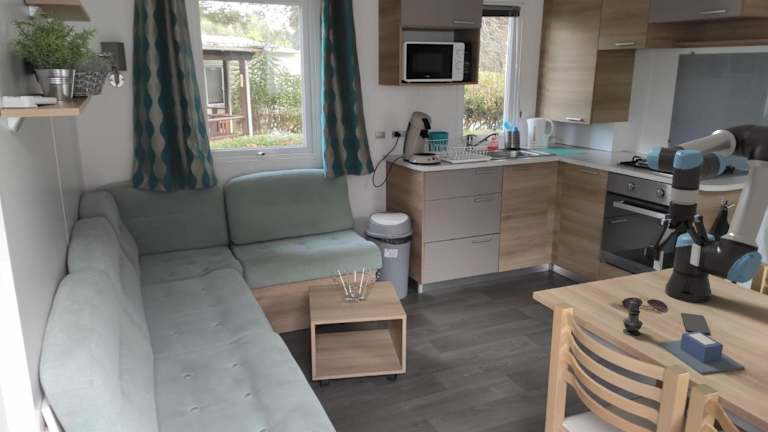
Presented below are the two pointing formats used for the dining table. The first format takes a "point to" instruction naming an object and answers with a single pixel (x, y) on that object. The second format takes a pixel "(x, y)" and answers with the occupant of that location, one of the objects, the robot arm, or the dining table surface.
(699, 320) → the smartphone
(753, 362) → the dining table surface
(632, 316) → the salt shaker
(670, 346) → the mat
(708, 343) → the card deck
